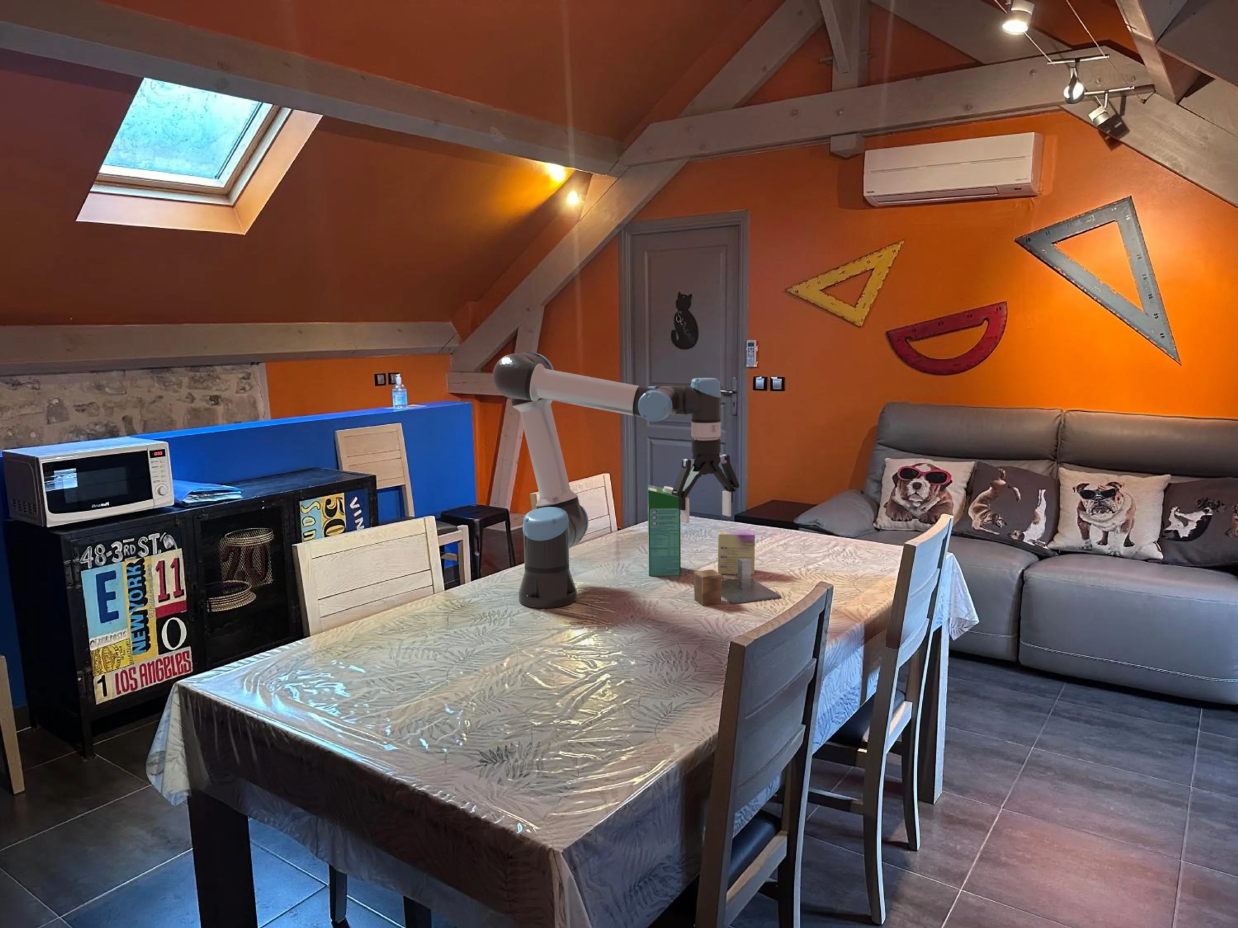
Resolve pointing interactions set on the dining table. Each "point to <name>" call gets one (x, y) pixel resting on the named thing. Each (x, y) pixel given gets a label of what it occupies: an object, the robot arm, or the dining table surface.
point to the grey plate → (745, 586)
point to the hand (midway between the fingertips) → (706, 518)
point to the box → (735, 550)
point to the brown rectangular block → (707, 587)
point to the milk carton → (663, 532)
